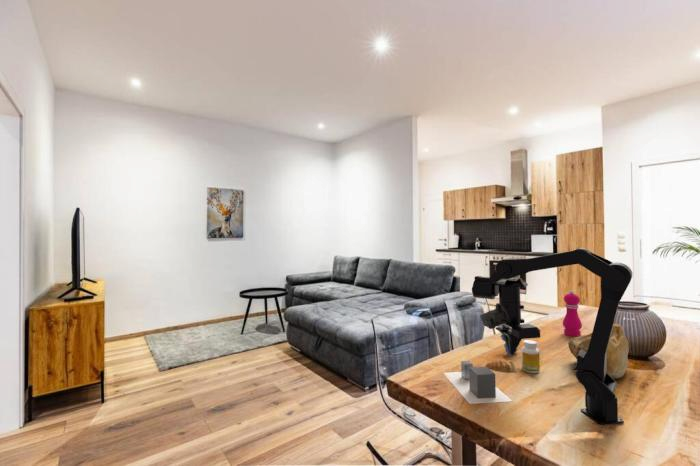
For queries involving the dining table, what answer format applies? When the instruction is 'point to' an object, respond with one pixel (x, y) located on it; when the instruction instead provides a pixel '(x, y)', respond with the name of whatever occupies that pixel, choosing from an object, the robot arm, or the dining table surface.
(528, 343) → the supplement bottle
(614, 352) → the rough brown rock
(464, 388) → the board
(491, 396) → the dark gray block
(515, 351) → the grapes
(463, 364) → the steel post
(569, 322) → the pepper mill
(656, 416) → the dining table surface
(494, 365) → the pastry
